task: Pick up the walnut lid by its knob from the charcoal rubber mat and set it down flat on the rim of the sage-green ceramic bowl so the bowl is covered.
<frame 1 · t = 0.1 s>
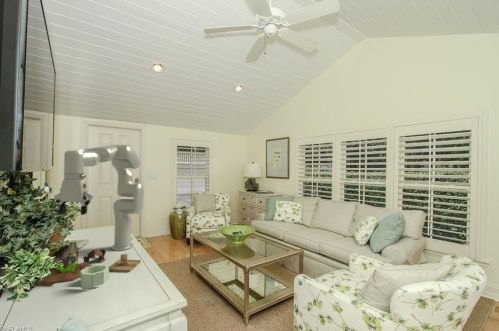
hand: (73, 213, 112), 31 cm above the sideboard, fingers open, 9 cm apart
lid: (123, 266, 127), point 1 cm above the sideboard, touching mat
bowl: (94, 283, 111), on the sideboard
plant: (67, 276, 118), on the sideboard
mat: (123, 268, 127), on the sideboard
brown animal figurine: (96, 262, 133), on the sideboard
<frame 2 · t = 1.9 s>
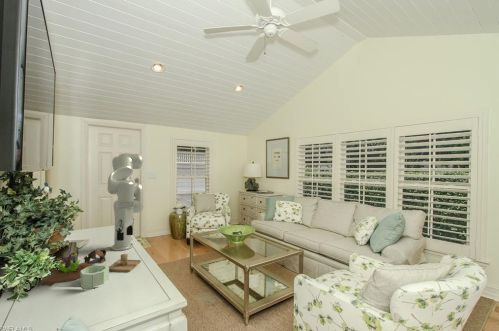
hand: (125, 237, 126), 16 cm above the sideboard, fingers open, 9 cm apart
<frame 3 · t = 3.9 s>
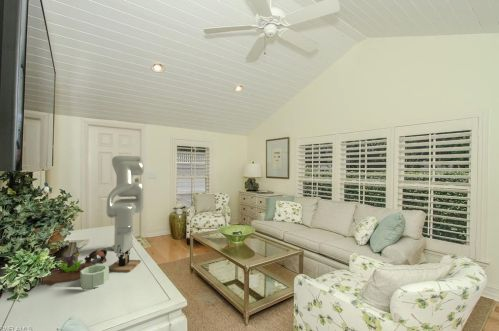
hand: (123, 263, 127), 2 cm above the sideboard, fingers closed on lid, 3 cm apart
lid: (123, 266, 127), point 1 cm above the sideboard, touching gripper, mat
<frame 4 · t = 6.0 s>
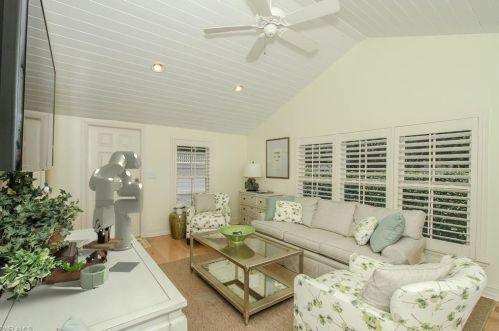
hand: (103, 241, 114), 18 cm above the sideboard, fingers closed on lid, 3 cm apart
lid: (103, 244, 114), point 17 cm above the sideboard, touching gripper
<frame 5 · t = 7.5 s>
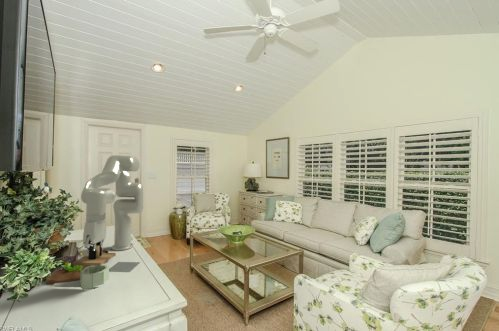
hand: (95, 257, 110), 12 cm above the sideboard, fingers closed on lid, 3 cm apart
lid: (95, 260, 110), point 11 cm above the sideboard, touching gripper
plant: (74, 276, 118), on the sideboard, touching brown animal figurine
brown animal figurine: (99, 263, 132), on the sideboard, touching plant
when the fingers open (9 cm above the sideboard, at t = 8.5 s): lid stays where it is, resting on bowl.
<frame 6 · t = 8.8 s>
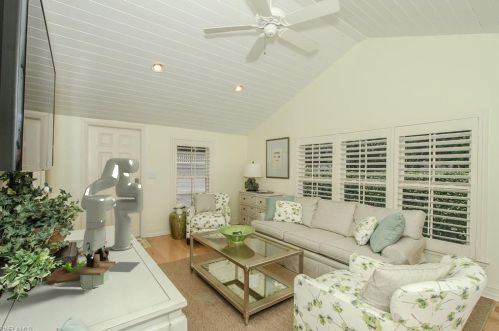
hand: (95, 263, 110), 9 cm above the sideboard, fingers open, 6 cm apart
lid: (95, 269, 111), point 6 cm above the sideboard, touching bowl
plant: (75, 276, 118), on the sideboard
brown animal figurine: (99, 263, 132), on the sideboard
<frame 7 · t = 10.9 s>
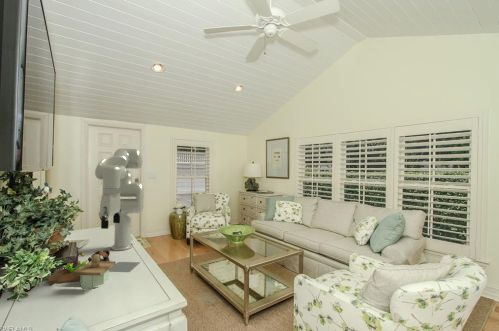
hand: (110, 225, 120), 24 cm above the sideboard, fingers open, 9 cm apart
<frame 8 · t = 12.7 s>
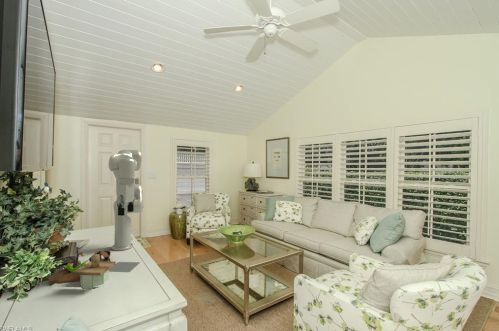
hand: (125, 213, 129), 28 cm above the sideboard, fingers open, 9 cm apart
at the end: lid inside the target area on the bowl (0.1 cm from its centre), point 6.5 cm above the bowl's base; lid tilted 0° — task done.
